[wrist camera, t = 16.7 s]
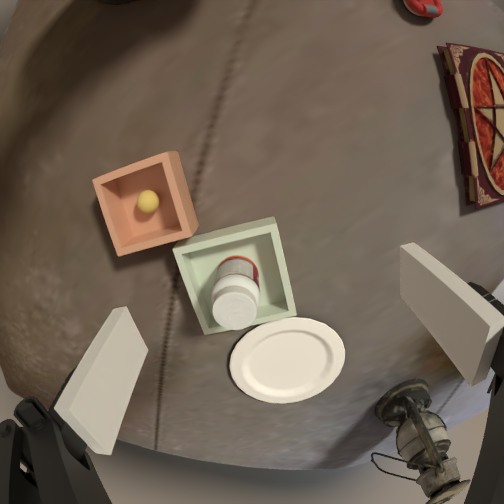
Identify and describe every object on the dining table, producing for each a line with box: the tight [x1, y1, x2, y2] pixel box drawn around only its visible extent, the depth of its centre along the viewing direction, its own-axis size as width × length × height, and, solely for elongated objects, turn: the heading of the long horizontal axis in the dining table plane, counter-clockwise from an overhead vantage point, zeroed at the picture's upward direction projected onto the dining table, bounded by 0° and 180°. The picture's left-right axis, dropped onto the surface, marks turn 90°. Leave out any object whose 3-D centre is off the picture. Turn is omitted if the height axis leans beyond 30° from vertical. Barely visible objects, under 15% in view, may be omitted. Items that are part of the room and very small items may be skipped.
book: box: [437, 43, 504, 209], centre depth 35 cm, size 28×21×5 cm
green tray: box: [172, 216, 297, 335], centre depth 43 cm, size 14×14×4 cm
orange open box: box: [93, 151, 199, 256], centre depth 38 cm, size 11×11×6 cm
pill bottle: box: [211, 255, 260, 330], centre depth 39 cm, size 6×6×11 cm
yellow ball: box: [137, 190, 159, 214], centre depth 39 cm, size 3×3×3 cm
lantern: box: [371, 379, 470, 504], centre depth 43 cm, size 19×19×30 cm
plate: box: [229, 317, 345, 403], centre depth 51 cm, size 21×21×2 cm
